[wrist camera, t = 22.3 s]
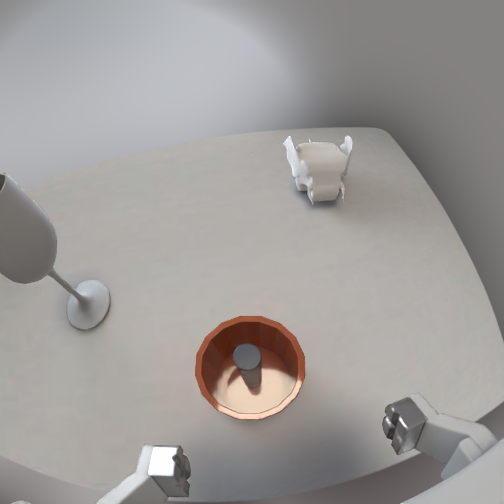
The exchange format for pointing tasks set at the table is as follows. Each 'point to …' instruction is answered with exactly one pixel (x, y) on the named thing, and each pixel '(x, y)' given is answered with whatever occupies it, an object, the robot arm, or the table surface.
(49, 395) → the table surface
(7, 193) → the wineglass
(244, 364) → the rod
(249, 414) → the cup
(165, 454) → the robot arm
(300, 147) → the elephant figurine
